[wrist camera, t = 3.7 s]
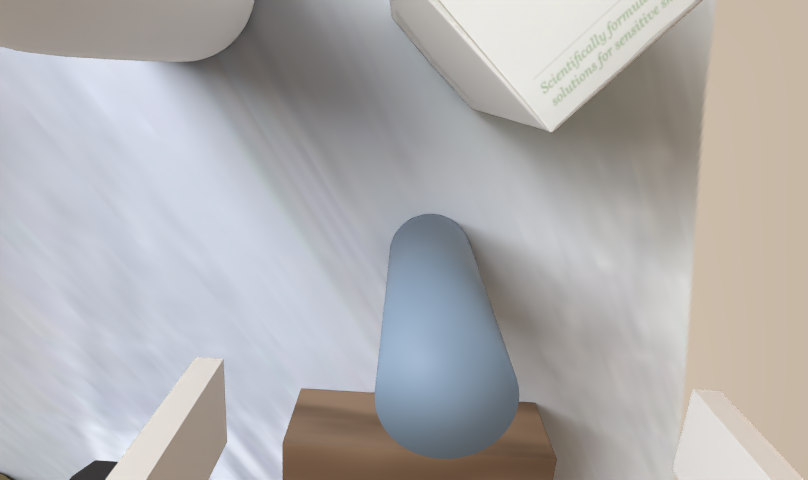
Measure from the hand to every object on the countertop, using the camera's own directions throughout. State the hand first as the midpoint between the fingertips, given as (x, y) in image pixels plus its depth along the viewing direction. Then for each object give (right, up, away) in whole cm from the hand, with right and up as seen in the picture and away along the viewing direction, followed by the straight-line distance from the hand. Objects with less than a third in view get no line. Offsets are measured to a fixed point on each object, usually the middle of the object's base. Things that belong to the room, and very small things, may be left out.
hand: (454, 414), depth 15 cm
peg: (0, +4, +15) cm, 15 cm away
